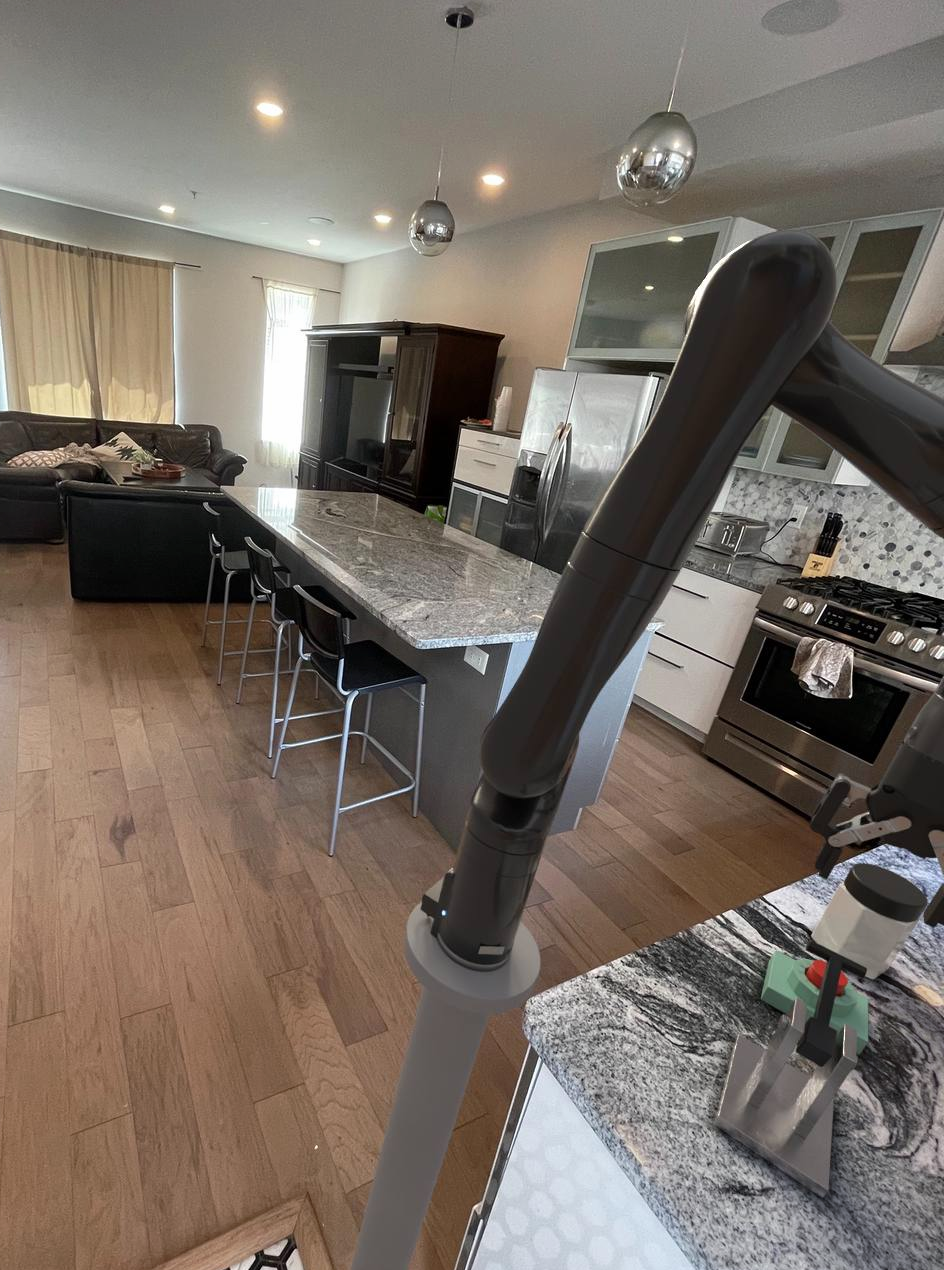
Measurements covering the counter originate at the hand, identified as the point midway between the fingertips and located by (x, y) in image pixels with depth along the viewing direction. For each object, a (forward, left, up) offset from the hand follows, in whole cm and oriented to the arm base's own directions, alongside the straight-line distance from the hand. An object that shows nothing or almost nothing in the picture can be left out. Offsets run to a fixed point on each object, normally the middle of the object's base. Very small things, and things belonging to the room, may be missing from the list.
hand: (873, 896), depth 61 cm
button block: (+2, +10, -22) cm, 24 cm away
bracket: (0, -9, -22) cm, 23 cm away
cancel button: (+2, +10, -18) cm, 21 cm away
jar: (+6, +25, -22) cm, 34 cm away
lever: (0, -4, -11) cm, 12 cm away
